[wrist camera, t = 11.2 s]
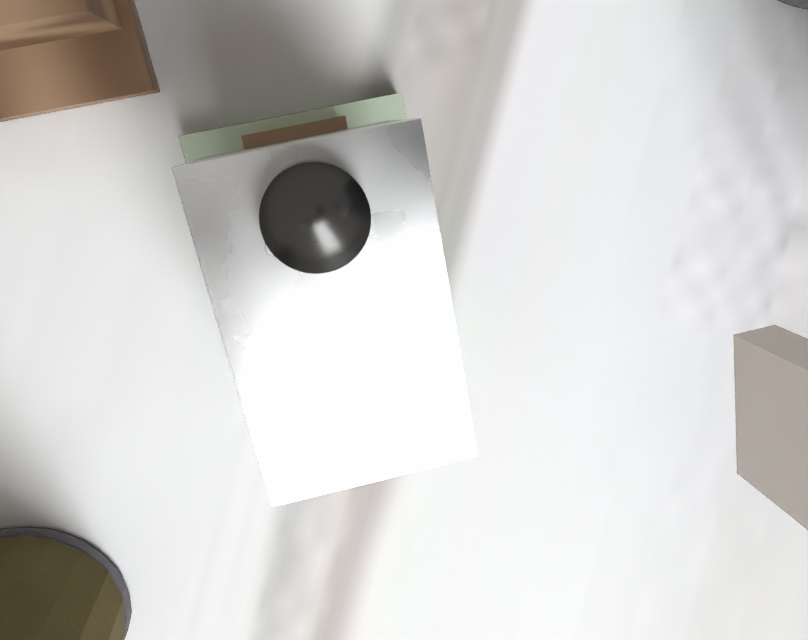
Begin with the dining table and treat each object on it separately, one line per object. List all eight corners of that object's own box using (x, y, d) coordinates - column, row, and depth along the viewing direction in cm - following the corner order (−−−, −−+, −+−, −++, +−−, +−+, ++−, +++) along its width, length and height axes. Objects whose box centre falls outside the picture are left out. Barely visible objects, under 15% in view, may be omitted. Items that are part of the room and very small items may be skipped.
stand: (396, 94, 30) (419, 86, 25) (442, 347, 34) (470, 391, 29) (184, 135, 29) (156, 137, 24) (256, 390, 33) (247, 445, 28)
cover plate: (454, 412, 25) (487, 474, 20) (275, 455, 24) (269, 529, 20) (402, 119, 21) (428, 117, 17) (192, 160, 21) (163, 170, 16)
